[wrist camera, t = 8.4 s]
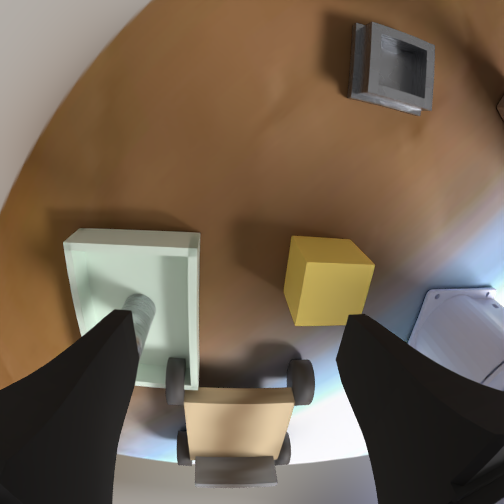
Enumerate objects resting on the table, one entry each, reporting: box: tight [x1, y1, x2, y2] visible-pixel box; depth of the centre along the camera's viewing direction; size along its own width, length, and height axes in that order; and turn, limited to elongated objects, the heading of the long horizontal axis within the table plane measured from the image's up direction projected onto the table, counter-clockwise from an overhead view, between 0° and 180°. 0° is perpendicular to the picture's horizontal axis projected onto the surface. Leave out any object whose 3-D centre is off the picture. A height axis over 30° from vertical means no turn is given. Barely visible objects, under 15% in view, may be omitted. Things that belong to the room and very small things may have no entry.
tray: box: [63, 228, 200, 390], centre depth 19 cm, size 8×11×2 cm
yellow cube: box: [283, 236, 375, 326], centre depth 19 cm, size 4×4×4 cm
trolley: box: [165, 357, 315, 488], centre depth 22 cm, size 10×14×6 cm
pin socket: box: [347, 22, 435, 116], centre depth 15 cm, size 5×5×2 cm
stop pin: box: [121, 294, 156, 360], centre depth 17 cm, size 2×2×7 cm
